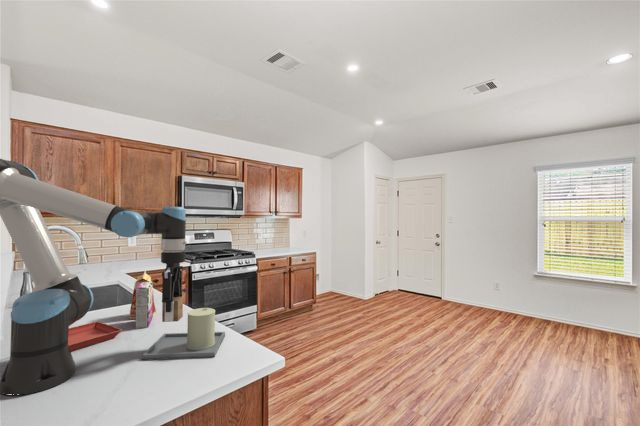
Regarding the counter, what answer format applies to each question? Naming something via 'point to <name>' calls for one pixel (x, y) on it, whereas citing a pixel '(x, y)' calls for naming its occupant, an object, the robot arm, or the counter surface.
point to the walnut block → (177, 309)
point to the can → (201, 329)
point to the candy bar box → (143, 305)
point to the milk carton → (140, 279)
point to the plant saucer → (90, 334)
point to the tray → (180, 347)
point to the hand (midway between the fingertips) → (172, 318)
